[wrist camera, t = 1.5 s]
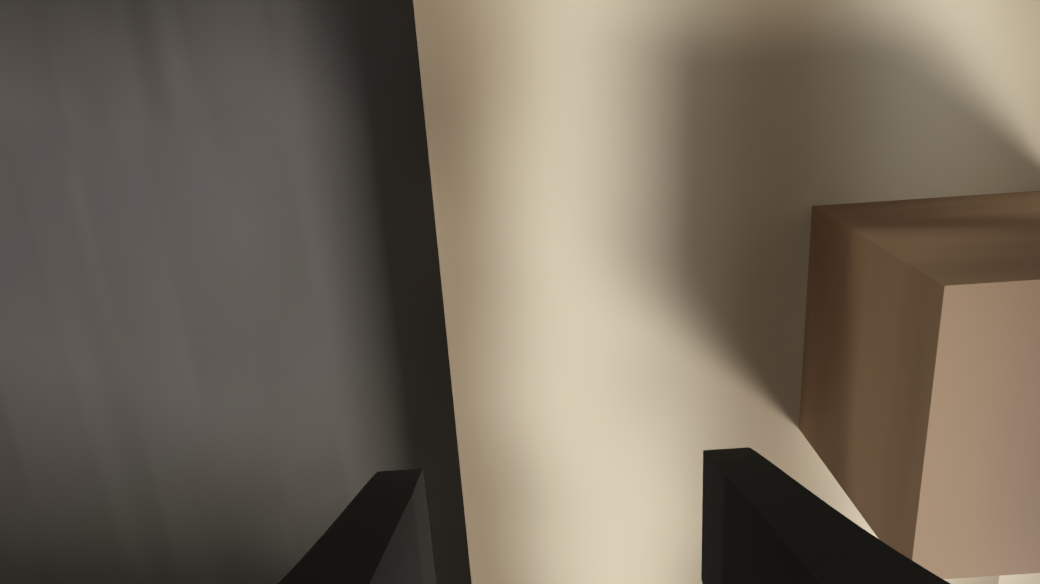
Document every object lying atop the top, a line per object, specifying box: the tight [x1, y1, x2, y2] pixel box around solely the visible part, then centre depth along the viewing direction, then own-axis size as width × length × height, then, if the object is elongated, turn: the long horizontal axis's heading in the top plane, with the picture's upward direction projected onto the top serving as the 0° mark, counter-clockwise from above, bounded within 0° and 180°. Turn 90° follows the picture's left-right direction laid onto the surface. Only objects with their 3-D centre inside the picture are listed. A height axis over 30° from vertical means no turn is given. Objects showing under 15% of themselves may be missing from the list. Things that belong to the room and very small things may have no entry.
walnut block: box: [799, 191, 1040, 579], centre depth 14 cm, size 5×5×5 cm
